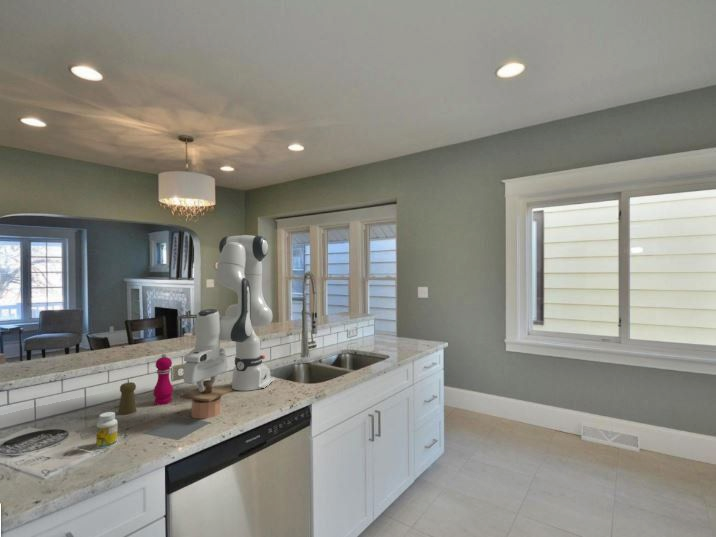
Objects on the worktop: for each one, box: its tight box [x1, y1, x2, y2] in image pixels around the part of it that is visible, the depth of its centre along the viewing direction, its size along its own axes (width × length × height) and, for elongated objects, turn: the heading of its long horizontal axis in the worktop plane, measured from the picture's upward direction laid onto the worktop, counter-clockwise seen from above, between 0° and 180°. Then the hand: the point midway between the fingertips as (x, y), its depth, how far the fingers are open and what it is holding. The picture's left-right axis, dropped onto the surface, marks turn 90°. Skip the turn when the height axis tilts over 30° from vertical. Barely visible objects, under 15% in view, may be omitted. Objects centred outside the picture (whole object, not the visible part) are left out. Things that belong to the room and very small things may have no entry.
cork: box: [117, 381, 137, 416], centre depth 142 cm, size 6×6×11 cm
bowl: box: [191, 396, 222, 420], centre depth 141 cm, size 10×10×6 cm
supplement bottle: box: [95, 411, 119, 449], centre depth 115 cm, size 5×5×10 cm
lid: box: [179, 379, 233, 402], centre depth 141 cm, size 13×13×5 cm
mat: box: [142, 416, 212, 441], centre depth 127 cm, size 15×15×1 cm
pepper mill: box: [152, 353, 174, 406], centre depth 154 cm, size 7×7×20 cm
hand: (206, 389), depth 141 cm, fingers closed on lid, 3 cm apart
